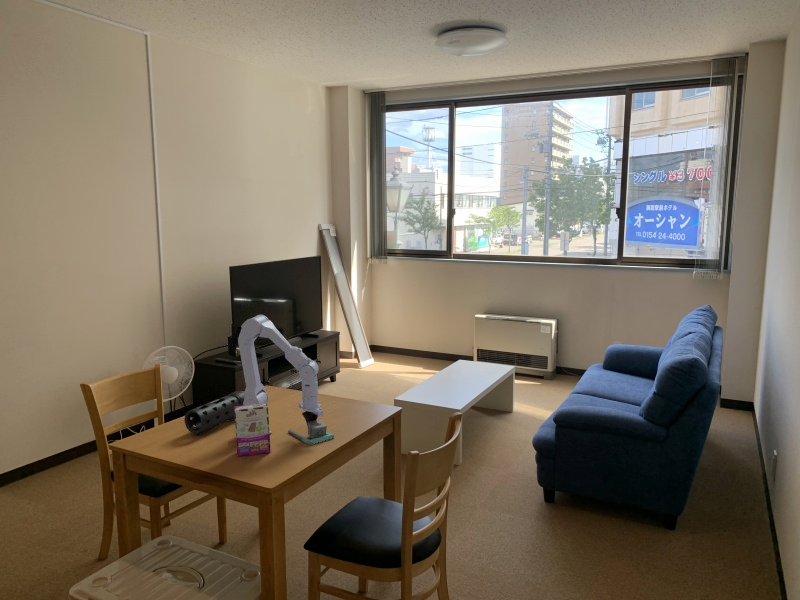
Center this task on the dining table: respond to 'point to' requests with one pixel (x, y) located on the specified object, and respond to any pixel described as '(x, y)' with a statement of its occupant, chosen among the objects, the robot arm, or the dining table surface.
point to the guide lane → (312, 441)
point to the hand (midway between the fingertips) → (311, 430)
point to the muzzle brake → (213, 413)
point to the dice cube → (316, 429)
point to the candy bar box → (252, 429)
